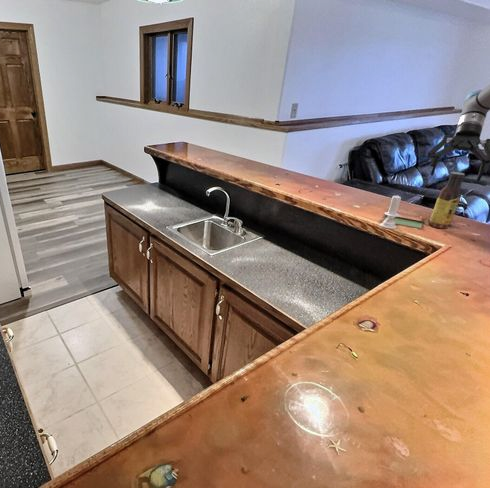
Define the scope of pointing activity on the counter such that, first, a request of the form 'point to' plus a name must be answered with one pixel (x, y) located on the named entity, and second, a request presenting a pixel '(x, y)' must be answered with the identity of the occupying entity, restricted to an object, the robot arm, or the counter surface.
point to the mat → (407, 222)
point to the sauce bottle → (447, 202)
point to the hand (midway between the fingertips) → (454, 176)
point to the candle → (392, 213)
